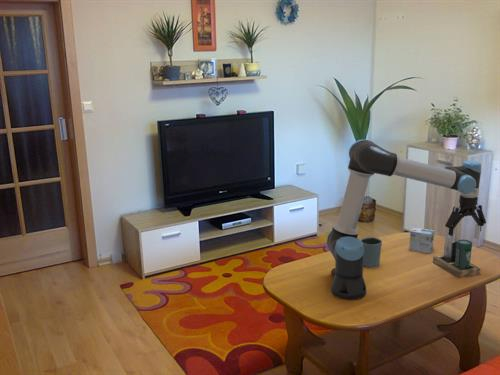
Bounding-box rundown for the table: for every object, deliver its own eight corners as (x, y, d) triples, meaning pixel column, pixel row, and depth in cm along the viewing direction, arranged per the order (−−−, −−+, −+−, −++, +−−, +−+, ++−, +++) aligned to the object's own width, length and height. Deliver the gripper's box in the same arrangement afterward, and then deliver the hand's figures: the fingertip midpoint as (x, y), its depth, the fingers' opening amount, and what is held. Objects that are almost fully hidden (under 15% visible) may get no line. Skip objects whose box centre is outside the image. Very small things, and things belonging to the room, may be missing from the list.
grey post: (449, 268, 242) (451, 238, 238) (440, 263, 248) (442, 234, 244) (459, 266, 244) (462, 237, 240) (450, 261, 250) (453, 232, 246)
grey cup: (360, 267, 246) (360, 244, 243) (359, 259, 256) (360, 236, 253) (381, 268, 245) (382, 245, 241) (380, 260, 254) (381, 237, 251)
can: (470, 275, 235) (473, 244, 231) (456, 274, 236) (458, 243, 232) (467, 269, 240) (470, 239, 236) (453, 268, 242) (456, 239, 238)
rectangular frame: (459, 278, 232) (459, 272, 231) (432, 262, 249) (433, 256, 249) (480, 274, 235) (480, 268, 234) (452, 259, 253) (453, 253, 252)
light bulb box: (433, 249, 265) (434, 230, 262) (430, 254, 259) (431, 234, 257) (412, 246, 270) (413, 226, 268) (408, 250, 265) (409, 230, 262)
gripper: (450, 200, 221) (446, 246, 227) (497, 195, 228) (492, 239, 234) (439, 195, 228) (435, 240, 234) (485, 191, 235) (480, 234, 241)
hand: (464, 240), depth 234 cm, fingers open, 13 cm apart
